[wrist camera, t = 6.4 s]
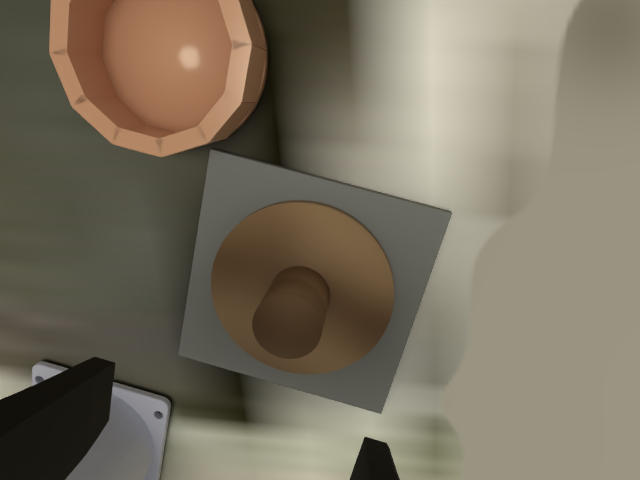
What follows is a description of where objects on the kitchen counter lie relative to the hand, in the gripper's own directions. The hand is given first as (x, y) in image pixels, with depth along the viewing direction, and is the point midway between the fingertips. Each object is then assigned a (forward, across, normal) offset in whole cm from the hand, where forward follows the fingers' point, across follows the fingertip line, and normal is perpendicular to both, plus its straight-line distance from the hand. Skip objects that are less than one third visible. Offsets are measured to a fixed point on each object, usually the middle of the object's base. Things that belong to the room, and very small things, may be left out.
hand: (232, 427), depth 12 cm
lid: (+10, 0, 0) cm, 10 cm away
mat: (+10, 0, 0) cm, 10 cm away
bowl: (+10, +7, -9) cm, 15 cm away
